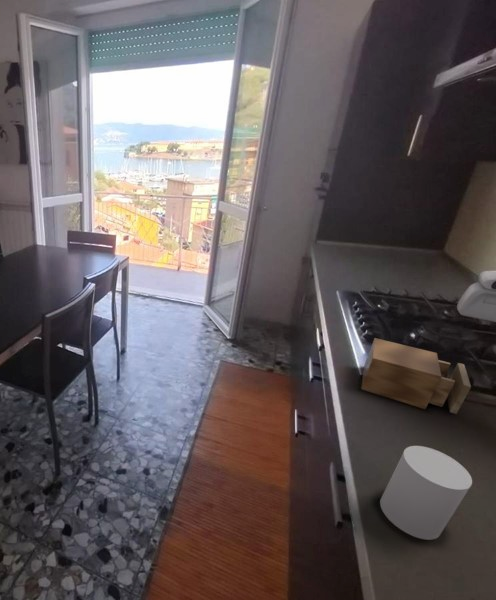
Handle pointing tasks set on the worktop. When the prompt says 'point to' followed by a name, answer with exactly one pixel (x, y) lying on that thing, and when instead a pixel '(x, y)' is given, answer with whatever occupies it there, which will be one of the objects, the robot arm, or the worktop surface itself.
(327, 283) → the worktop surface
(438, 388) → the drawer
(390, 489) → the cup
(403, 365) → the cabinet
